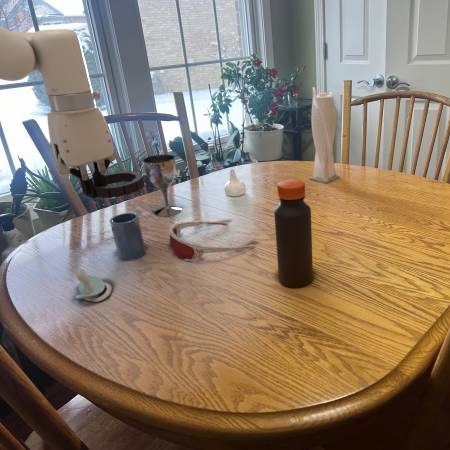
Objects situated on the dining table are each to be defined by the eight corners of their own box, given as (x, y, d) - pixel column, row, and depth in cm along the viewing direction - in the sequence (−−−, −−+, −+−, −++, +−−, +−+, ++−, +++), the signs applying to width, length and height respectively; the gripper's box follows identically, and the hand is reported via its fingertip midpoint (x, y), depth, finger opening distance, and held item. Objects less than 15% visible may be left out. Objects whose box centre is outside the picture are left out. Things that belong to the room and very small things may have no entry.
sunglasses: (159, 240, 104) (159, 220, 102) (225, 233, 113) (226, 215, 111) (183, 271, 90) (184, 249, 89) (256, 260, 99) (258, 239, 98)
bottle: (316, 285, 84) (313, 188, 75) (281, 291, 83) (275, 192, 74) (308, 268, 90) (305, 176, 82) (276, 272, 89) (269, 179, 80)
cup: (128, 263, 95) (119, 226, 91) (113, 256, 98) (104, 219, 94) (151, 252, 99) (143, 216, 95) (136, 246, 102) (128, 210, 98)
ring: (107, 201, 85) (105, 192, 84) (80, 191, 91) (77, 182, 90) (154, 185, 92) (152, 176, 92) (126, 176, 99) (124, 168, 98)
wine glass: (148, 211, 121) (137, 159, 115) (174, 203, 126) (165, 152, 119) (161, 219, 116) (150, 165, 109) (188, 211, 120) (179, 158, 114)
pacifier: (113, 283, 88) (81, 288, 86) (107, 255, 85) (74, 260, 84) (110, 303, 82) (75, 308, 80) (103, 274, 79) (67, 279, 77)
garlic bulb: (248, 190, 133) (246, 164, 130) (243, 197, 128) (240, 171, 124) (228, 189, 134) (225, 164, 131) (222, 197, 129) (219, 171, 125)
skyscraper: (306, 178, 141) (302, 88, 129) (321, 172, 147) (319, 85, 135) (326, 183, 136) (325, 90, 124) (341, 176, 142) (342, 86, 130)
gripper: (101, 94, 88) (121, 180, 96) (18, 108, 77) (49, 204, 85) (122, 97, 84) (141, 187, 92) (37, 111, 73) (67, 212, 81)
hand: (96, 194), depth 89 cm, fingers closed on ring, 1 cm apart
